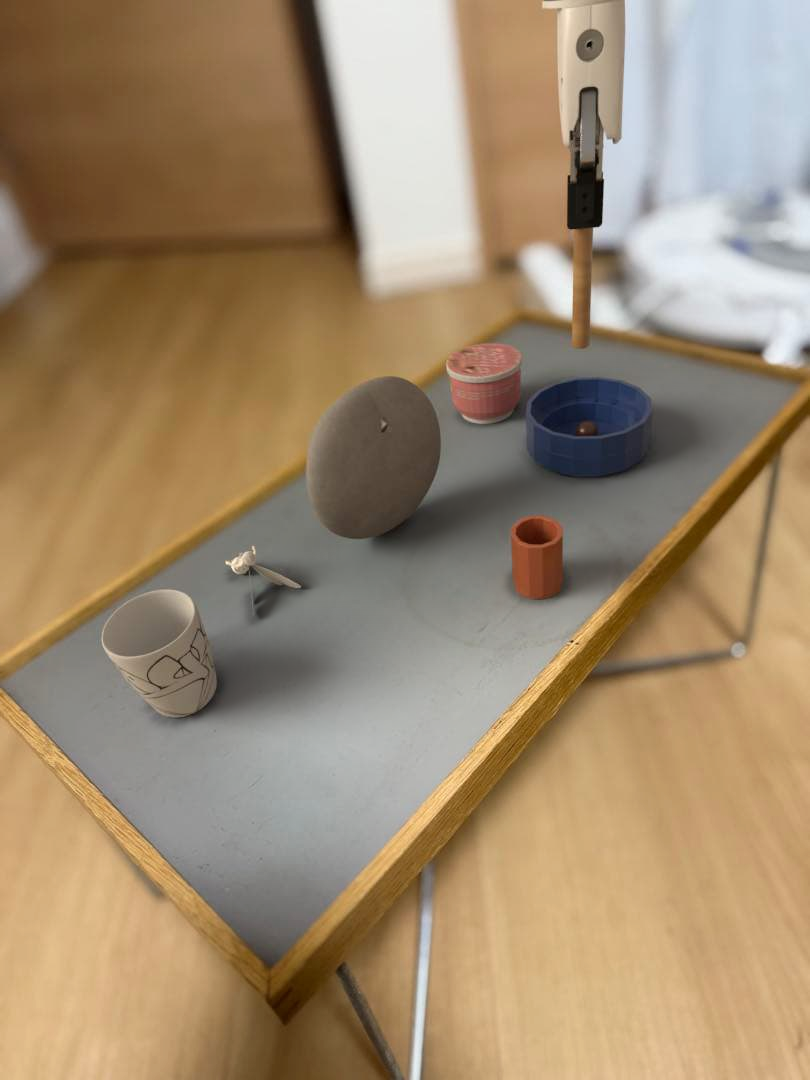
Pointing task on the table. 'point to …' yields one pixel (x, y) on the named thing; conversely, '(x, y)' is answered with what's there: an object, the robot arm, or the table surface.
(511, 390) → the container
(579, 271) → the stick
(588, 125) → the robot arm
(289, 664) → the table surface
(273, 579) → the fairy figurine
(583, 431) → the bead
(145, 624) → the mug
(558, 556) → the holder
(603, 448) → the bowl
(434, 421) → the grey-brown thick disc
